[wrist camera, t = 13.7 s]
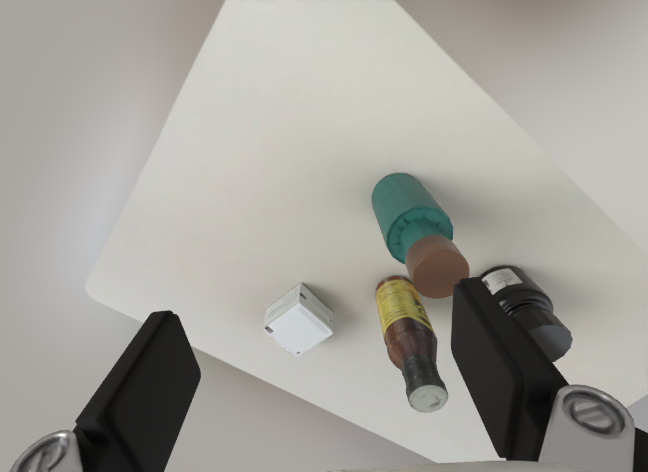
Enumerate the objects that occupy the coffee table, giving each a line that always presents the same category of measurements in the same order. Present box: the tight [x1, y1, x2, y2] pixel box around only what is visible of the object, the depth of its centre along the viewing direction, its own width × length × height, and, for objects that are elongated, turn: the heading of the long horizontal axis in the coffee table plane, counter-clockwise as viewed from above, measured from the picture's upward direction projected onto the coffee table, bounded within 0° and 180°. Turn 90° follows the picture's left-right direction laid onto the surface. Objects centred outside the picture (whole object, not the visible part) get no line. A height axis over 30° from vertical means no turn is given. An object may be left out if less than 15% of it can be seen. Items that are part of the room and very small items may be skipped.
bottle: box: [372, 173, 453, 264], centre depth 38 cm, size 7×7×16 cm
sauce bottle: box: [376, 276, 448, 413], centre depth 43 cm, size 7×6×20 cm
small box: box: [262, 283, 334, 358], centre depth 52 cm, size 8×8×5 cm
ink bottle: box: [479, 266, 573, 362], centre depth 47 cm, size 10×9×12 cm
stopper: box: [405, 235, 469, 299], centre depth 31 cm, size 5×5×6 cm
